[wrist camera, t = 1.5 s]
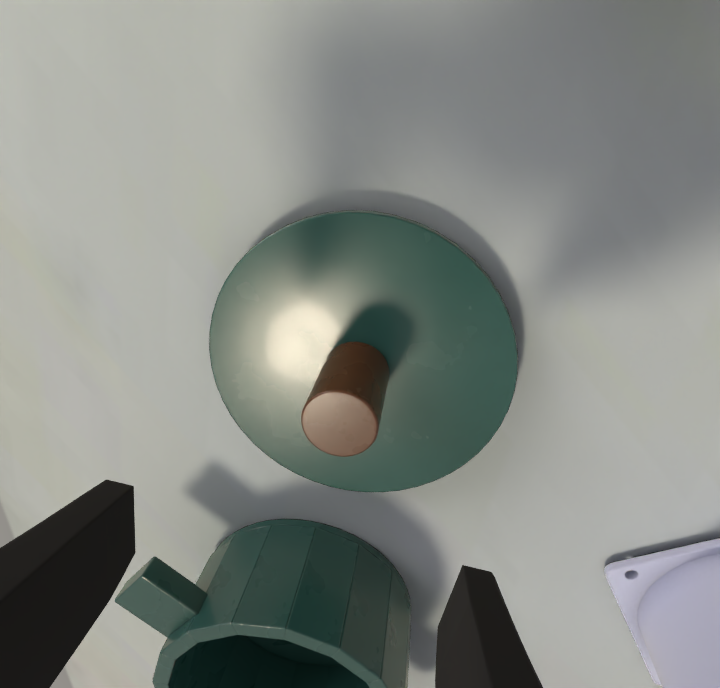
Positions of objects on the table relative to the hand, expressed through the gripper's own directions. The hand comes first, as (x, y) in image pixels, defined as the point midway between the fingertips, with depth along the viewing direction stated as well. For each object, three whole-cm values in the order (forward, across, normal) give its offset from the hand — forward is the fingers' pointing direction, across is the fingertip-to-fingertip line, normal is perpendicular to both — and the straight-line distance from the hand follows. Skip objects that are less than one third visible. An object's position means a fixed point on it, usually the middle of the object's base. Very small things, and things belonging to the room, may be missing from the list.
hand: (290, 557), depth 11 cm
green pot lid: (+9, 0, 0) cm, 9 cm away
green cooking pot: (+9, 0, +14) cm, 17 cm away
